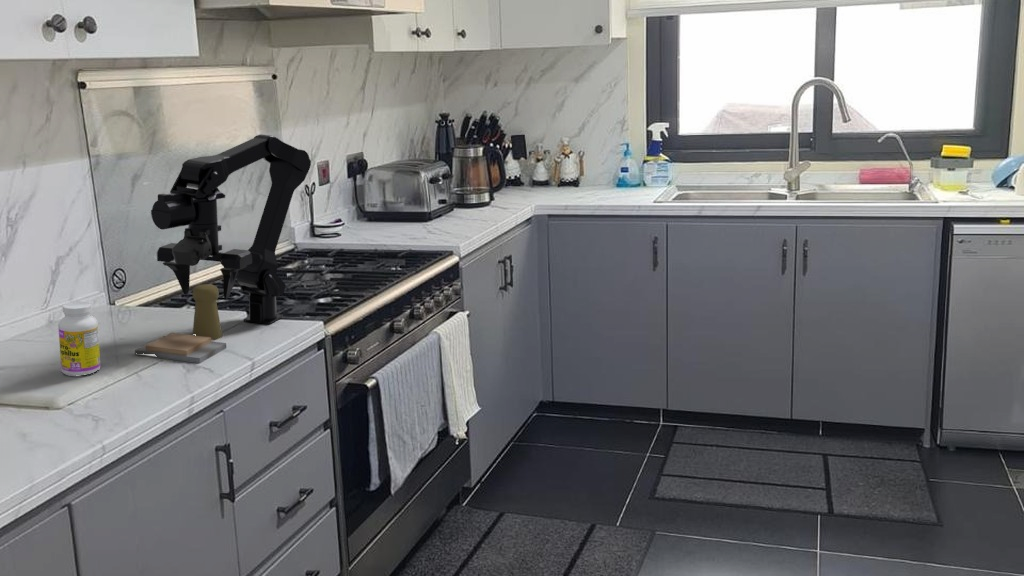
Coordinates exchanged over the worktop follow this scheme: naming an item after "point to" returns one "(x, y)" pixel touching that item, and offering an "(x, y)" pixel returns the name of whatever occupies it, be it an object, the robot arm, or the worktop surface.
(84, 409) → the worktop surface
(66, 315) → the supplement bottle
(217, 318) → the cork
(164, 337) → the stand
